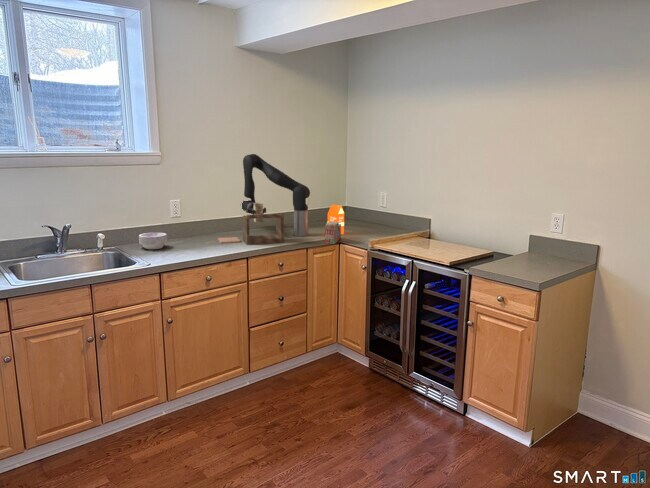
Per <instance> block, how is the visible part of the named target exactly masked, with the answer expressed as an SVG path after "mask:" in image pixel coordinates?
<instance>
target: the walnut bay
mask: <svg viewBox="0 0 650 488" xmlns="http://www.w3.org/2000/svg"><path fill="white" fill-rule="evenodd" d="M284 217H285V216H284V213H270V214H269V213H268V214H266V213H264V214H262V215H253V214H246V215H242V241H243V242H244V243H245V244H246V245H248V246H249V245H266V244H268V245H269V244H283V243H284V238H285V237H284V233H285V232H284V231H285V230H284V228H285V227H284V225H285V221H284V220H285V218H284ZM254 218H263V219H274V218H275V219H276V222H275V226H276V228H275V229H276V231H275V232H276V233H275V234H260V235H259V234H257V235H250V219H254Z"/></svg>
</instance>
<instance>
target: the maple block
mask: <svg viewBox="0 0 650 488" xmlns="http://www.w3.org/2000/svg"><path fill="white" fill-rule="evenodd" d="M263 209H264V203H263V202H256V203H254V210H255V211H256V214H254V215H262V214H263ZM253 221H254V223H263V222H264V218H253Z"/></svg>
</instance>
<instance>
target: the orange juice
mask: <svg viewBox="0 0 650 488" xmlns="http://www.w3.org/2000/svg"><path fill="white" fill-rule="evenodd" d="M329 221H332V222H339V224H341V234H342V235H344V234H345V233H344V232H345V211H344V209H343V206H342V205H337V204H331V205H330V207H329V210H328V212H327V223H328V222H329ZM327 223H326V224H327Z"/></svg>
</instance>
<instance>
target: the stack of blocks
mask: <svg viewBox="0 0 650 488" xmlns="http://www.w3.org/2000/svg"><path fill="white" fill-rule="evenodd" d="M327 222H328V221H327ZM324 229H325V231H324V236H325V237H324V244H331V245H335V244H336V243H337V242H338V241H339V240H340V239H341V237H342V235H341V224H339V222H332V221H329V222H328V223H325V228H324Z"/></svg>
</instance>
